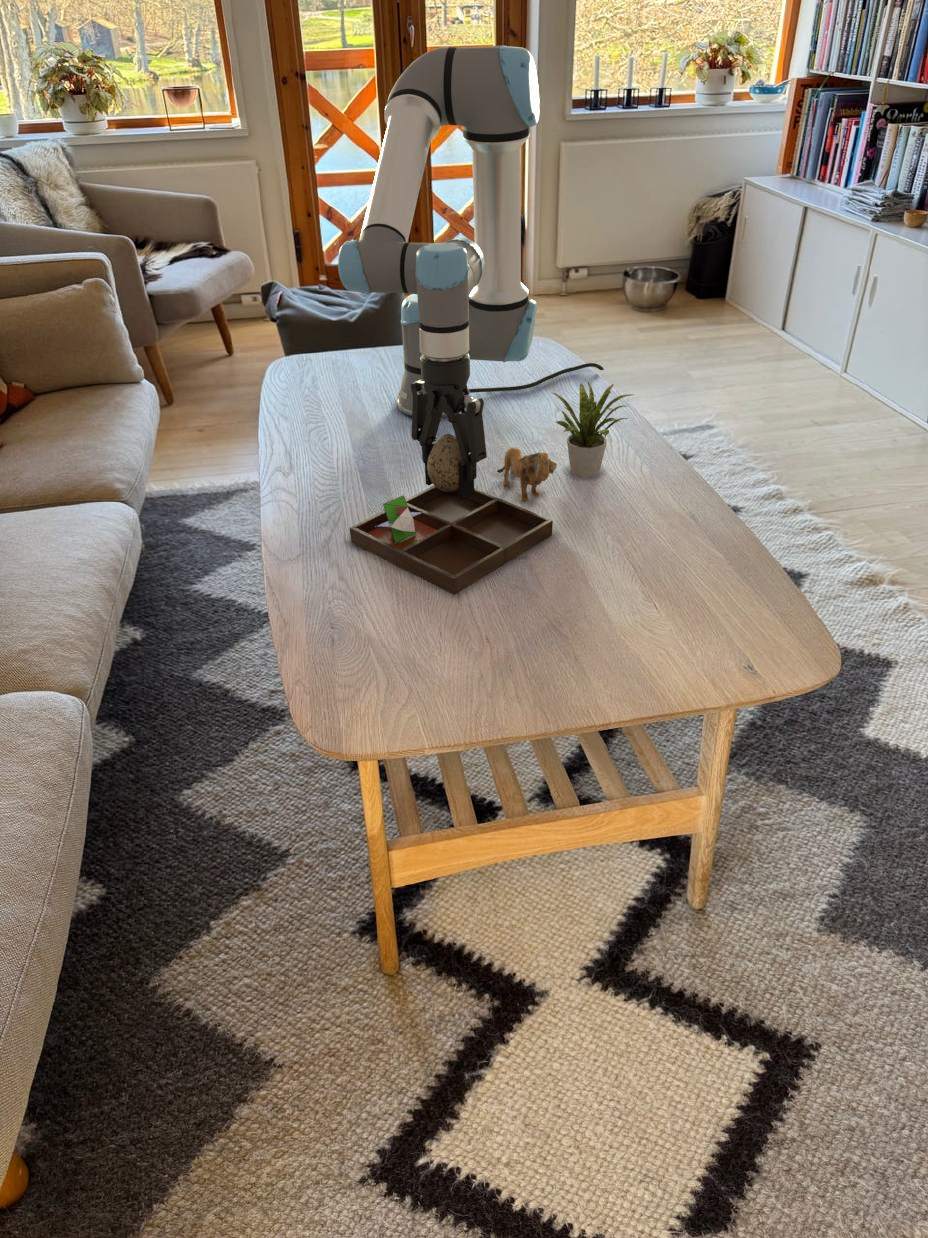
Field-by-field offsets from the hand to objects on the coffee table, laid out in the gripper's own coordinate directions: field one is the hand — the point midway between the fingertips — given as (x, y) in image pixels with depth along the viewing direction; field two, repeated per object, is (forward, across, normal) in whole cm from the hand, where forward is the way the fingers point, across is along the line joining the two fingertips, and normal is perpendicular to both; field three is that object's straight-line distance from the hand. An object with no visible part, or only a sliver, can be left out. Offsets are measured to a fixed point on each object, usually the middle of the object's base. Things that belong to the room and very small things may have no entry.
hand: (449, 488), depth 156 cm
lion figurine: (+5, -4, -15) cm, 16 cm away
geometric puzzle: (+4, 0, +11) cm, 12 cm away
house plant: (+5, -9, -28) cm, 30 cm away
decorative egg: (0, 0, 0) cm, 0 cm away
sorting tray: (+5, -6, +6) cm, 9 cm away
